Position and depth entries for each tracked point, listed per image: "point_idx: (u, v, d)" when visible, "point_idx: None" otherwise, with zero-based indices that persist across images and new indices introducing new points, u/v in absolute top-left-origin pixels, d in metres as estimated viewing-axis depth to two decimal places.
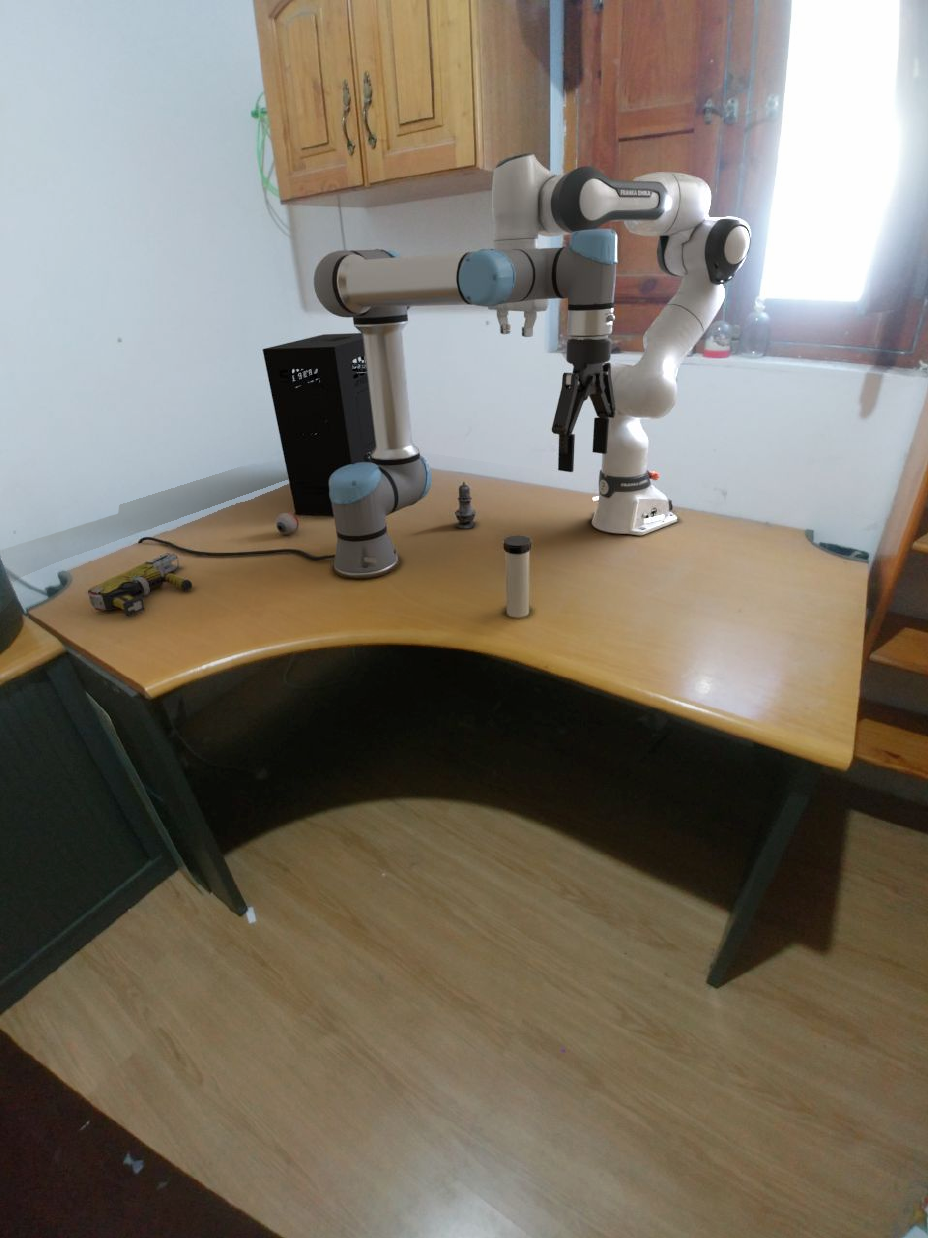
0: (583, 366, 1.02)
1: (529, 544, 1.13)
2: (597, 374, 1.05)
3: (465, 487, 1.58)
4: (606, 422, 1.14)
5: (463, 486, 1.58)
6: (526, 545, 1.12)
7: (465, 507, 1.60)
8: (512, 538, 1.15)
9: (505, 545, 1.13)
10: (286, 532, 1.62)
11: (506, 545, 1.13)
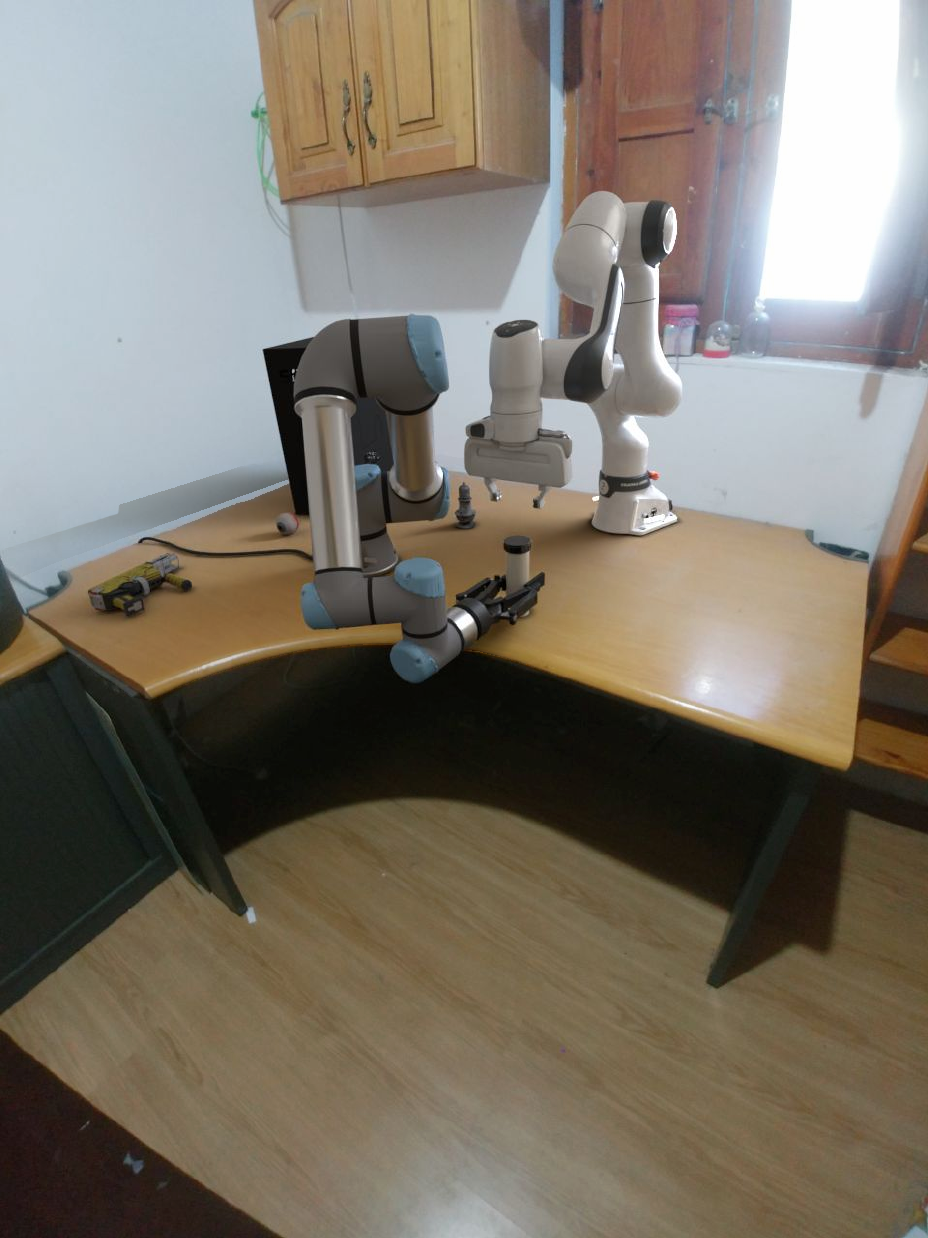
0: None
1: (529, 544, 1.13)
2: None
3: (465, 487, 1.58)
4: None
5: (463, 486, 1.58)
6: (526, 545, 1.12)
7: (465, 507, 1.60)
8: (512, 538, 1.15)
9: (505, 545, 1.13)
10: (286, 532, 1.62)
11: (506, 545, 1.13)
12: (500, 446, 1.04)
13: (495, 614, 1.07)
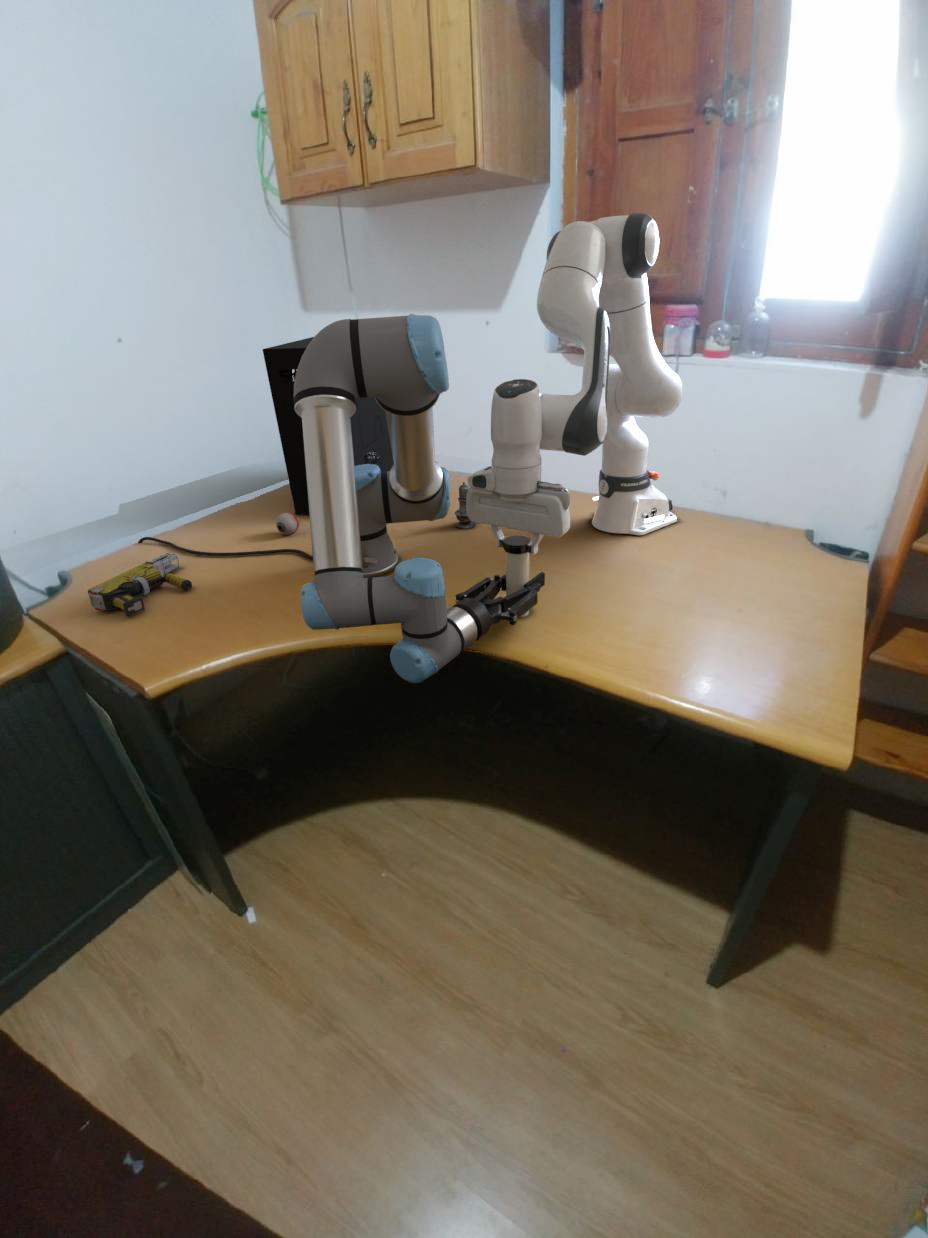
0: None
1: None
2: None
3: (465, 487, 1.58)
4: None
5: (463, 486, 1.58)
6: (526, 545, 1.12)
7: (465, 507, 1.60)
8: (512, 538, 1.15)
9: (505, 545, 1.13)
10: (286, 532, 1.62)
11: (506, 545, 1.13)
12: (501, 497, 1.08)
13: (495, 614, 1.07)
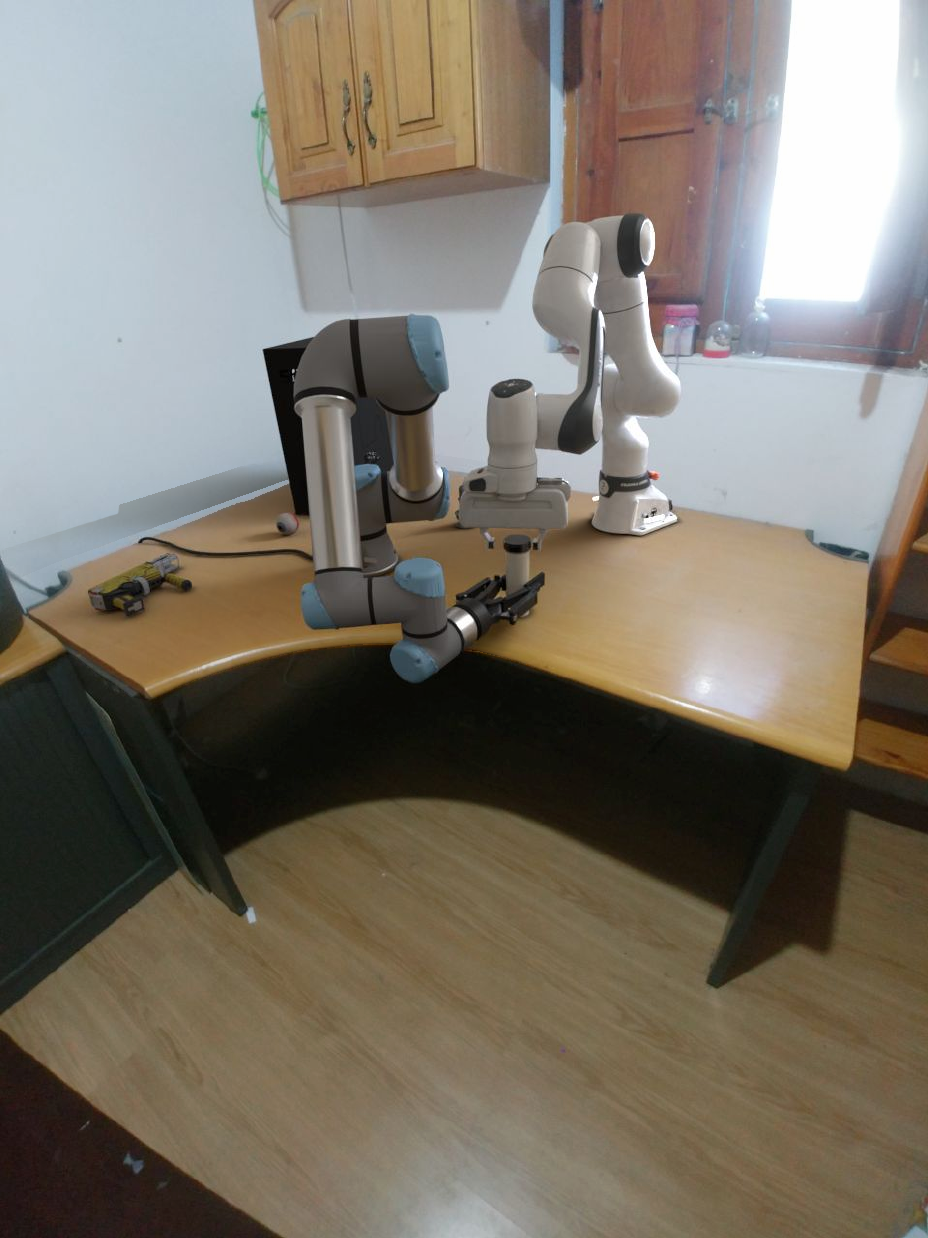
0: None
1: None
2: None
3: None
4: None
5: None
6: None
7: None
8: (511, 540, 1.13)
9: (519, 546, 1.12)
10: (286, 532, 1.62)
11: (520, 546, 1.12)
12: (501, 497, 1.08)
13: (495, 614, 1.07)
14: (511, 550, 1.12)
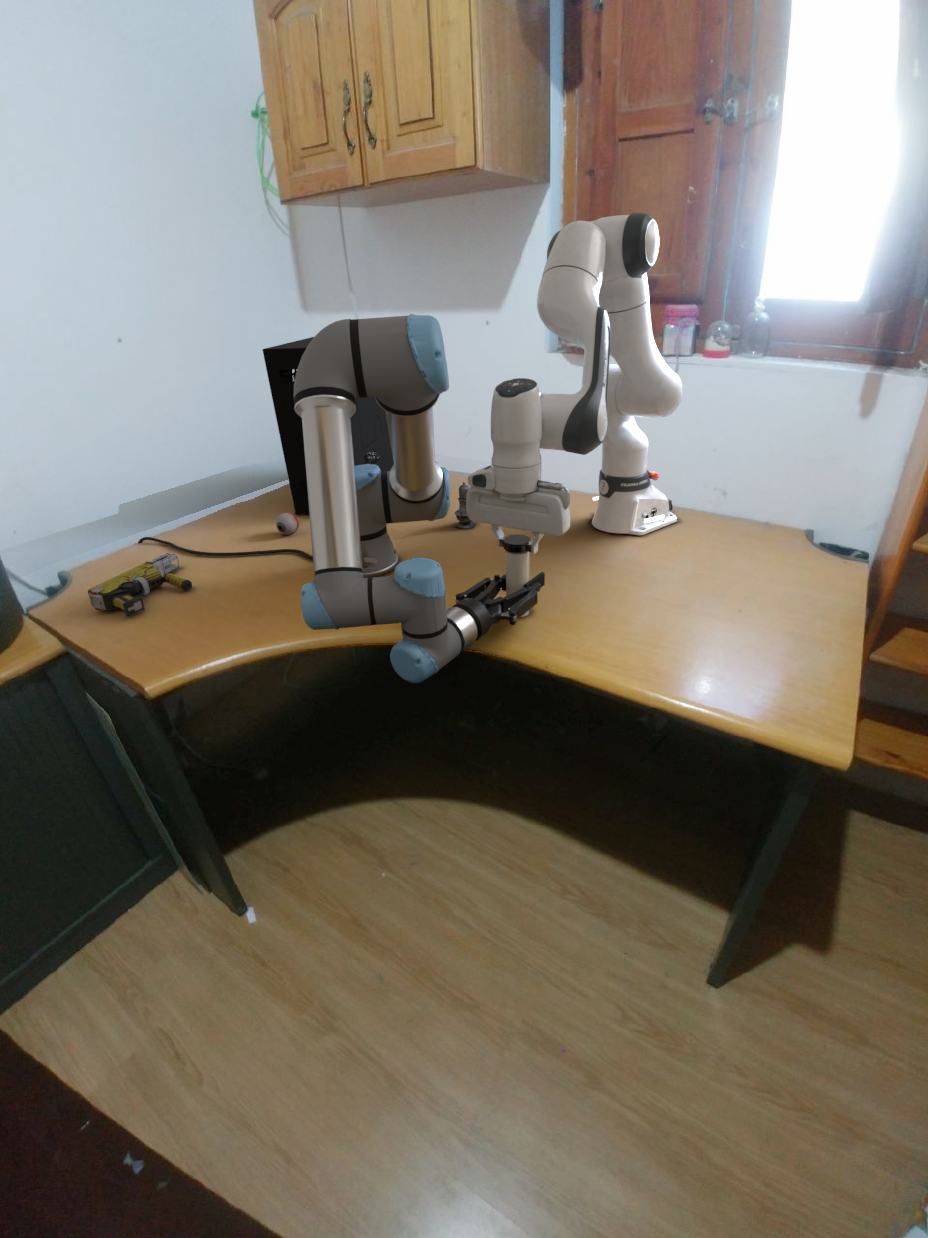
0: None
1: None
2: None
3: (465, 487, 1.58)
4: None
5: (463, 486, 1.58)
6: None
7: (465, 507, 1.60)
8: (510, 540, 1.13)
9: (519, 546, 1.12)
10: (286, 532, 1.62)
11: (520, 546, 1.12)
12: (501, 496, 1.08)
13: (495, 614, 1.07)
14: (511, 550, 1.12)
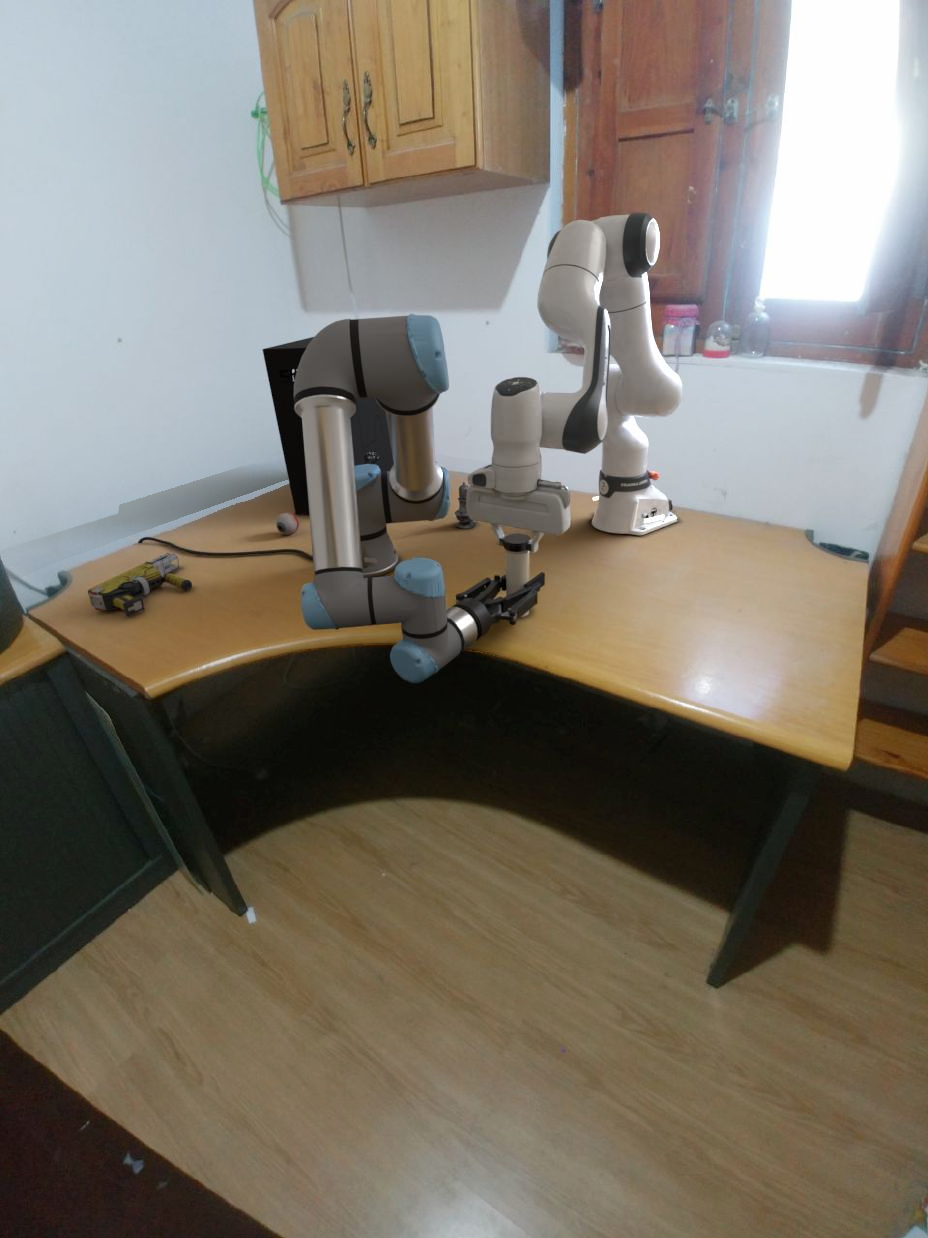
0: None
1: None
2: None
3: (465, 487, 1.58)
4: None
5: (463, 486, 1.58)
6: None
7: (465, 507, 1.60)
8: (517, 540, 1.12)
9: None
10: (286, 532, 1.62)
11: (530, 540, 1.13)
12: (501, 495, 1.08)
13: (495, 614, 1.07)
14: (526, 548, 1.12)
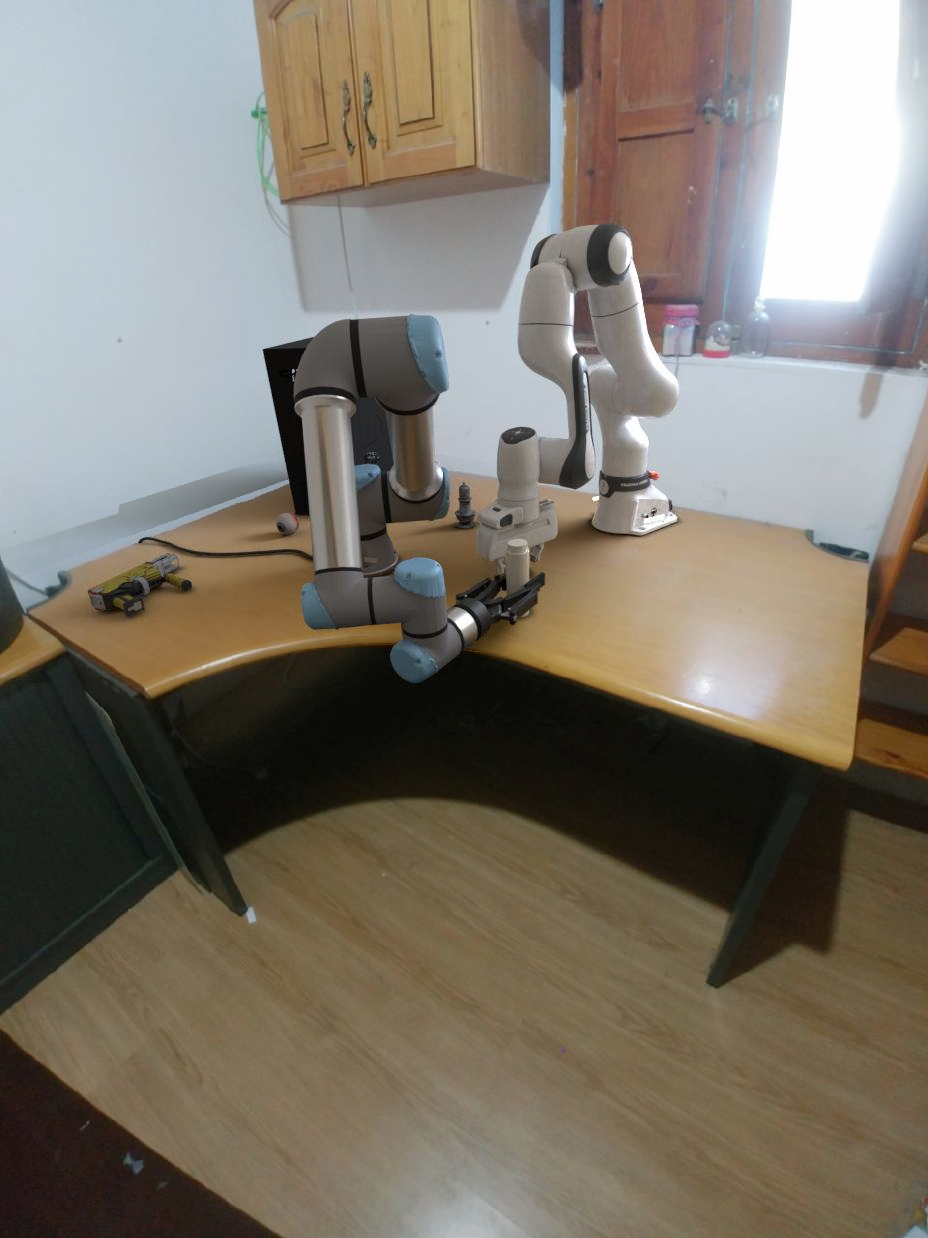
0: None
1: None
2: None
3: (465, 487, 1.58)
4: None
5: (463, 486, 1.58)
6: None
7: (465, 507, 1.60)
8: None
9: None
10: (286, 532, 1.62)
11: None
12: (520, 526, 1.27)
13: (495, 614, 1.07)
14: (529, 571, 1.36)
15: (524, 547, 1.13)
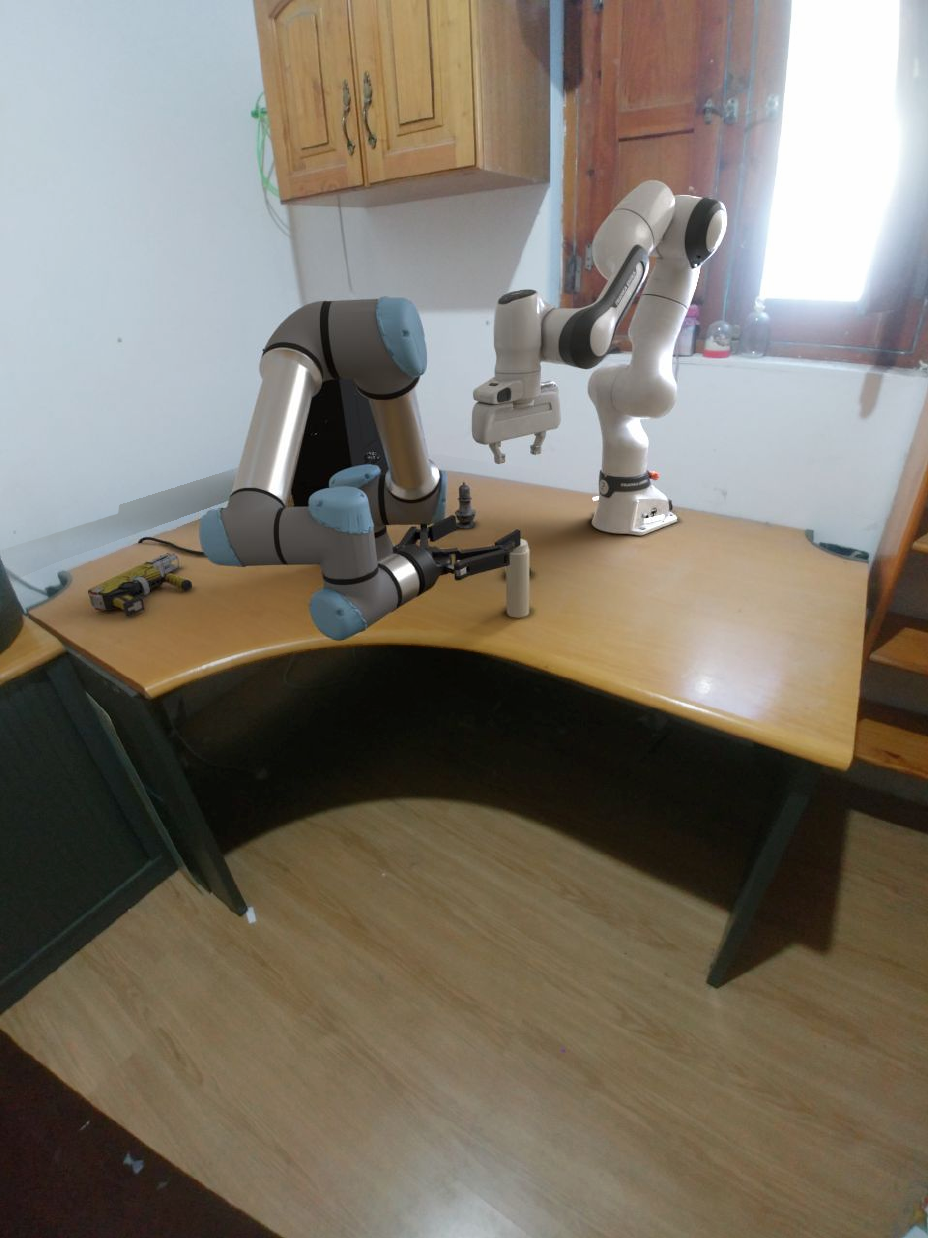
0: None
1: None
2: None
3: (465, 487, 1.58)
4: None
5: (463, 486, 1.58)
6: None
7: (465, 507, 1.60)
8: None
9: None
10: None
11: None
12: (519, 405, 1.14)
13: (442, 563, 0.91)
14: (529, 571, 1.36)
15: (524, 547, 1.13)
